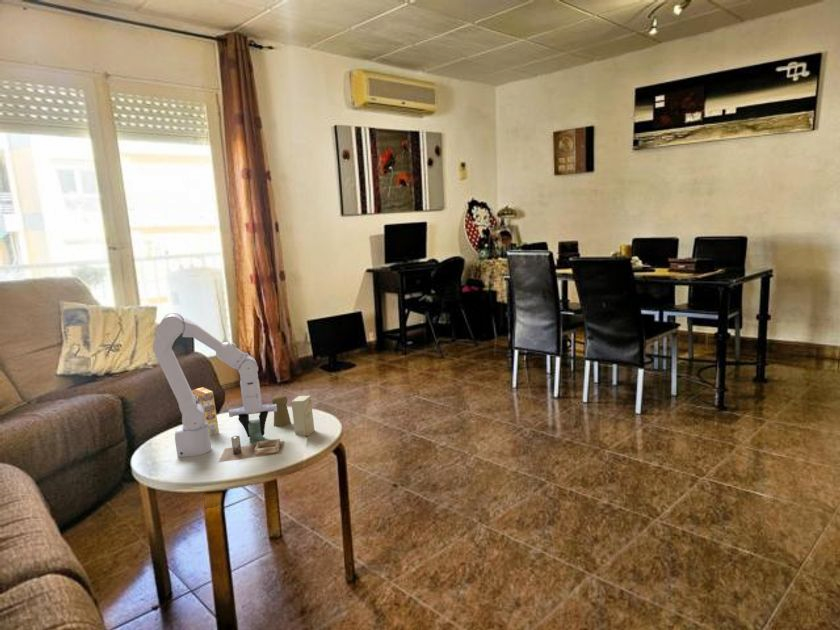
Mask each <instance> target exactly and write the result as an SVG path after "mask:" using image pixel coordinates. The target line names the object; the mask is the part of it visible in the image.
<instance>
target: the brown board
mask: <svg viewBox="0 0 840 630" xmlns="http://www.w3.org/2000/svg"><path fill="white" fill-rule="evenodd" d="M284 445H285V440H281V438H276V439H267V440H262V441H257V442H256V444H249V445H243V446H241V453H240V454H237V455H234V454H233V448H232V447H227V448H224V450H223V452H222V454H221V456H220V458H219V461H218V463H221V462H229V461H237V460H244V459H251V458H252V459H253V458H260V457H266V456H273V455H274V456H275V455H282V454H283V449H284Z"/></svg>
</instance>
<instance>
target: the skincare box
mask: <svg viewBox="0 0 840 630" xmlns="http://www.w3.org/2000/svg"><path fill="white" fill-rule="evenodd" d="M290 403H291V409H292V412H291V413H292V419H293V426H294V427H293V428H294V434H295V435H304V436H305V437H307V438H308V437H309V436H310V435H311V434H312V433H314V432H315V423H314V414H313V407H312V406H313V405H312V397H311V395H298V396H296V397H295V398H294V399H292V400H291V401H290Z"/></svg>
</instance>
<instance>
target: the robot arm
mask: <svg viewBox="0 0 840 630" xmlns="http://www.w3.org/2000/svg"><path fill="white" fill-rule="evenodd" d="M181 334H182V338H193V339H194V340H196V341H198V342H200V343H202V344H203V345H205V346H206V347H207V348H209V349H211V350H213V351H214V352H215V356H216V358H217V359H218V360H220V361H222V362H223V363H225V364H226V365H228V366H229V367H231V368H232V369H234V370H237V371H238V374H239V378H240V381H239V385H240V392H241V400H242V401H241V402H242V407H237V408H231V409H229V410H228V415H229V418H233V417H235V416H238V421H239V423H240V425H241V426H243V429H244V430H245V432H246V435H247V436H246V437H248V438H250V437H249V429H248V423H249V421H250V417H249V415H255V414H259V415H258V419H260V425H261V435H262V436H263V437H264V435H265V428H266V423H267V418H268V414H269V412H270V413H271V412H273V413H274V412H277V404H263V401H262V396H261V395H262V393H261V386H260V385H261V384H260V379H259V374H258V372H259V365H258V363H257V361H256V359H255V358H254V357H253V356H252V355H249V353H248V352H244V351H243V350H240V349H239V348H238V347H237V345H236V343H234V342H232V343H230V342H229V341H226V342H221V341H220V340H219V339H217V338H216V337H215V336H213V335H212V334H211V333H209V332H208V331H206V330H205V329H203V328H202V327H201V326H200V325H199V324H197V323H195V322H194V321H192V320H191V319H189V318H187V317H183V315H181V314H179V313H178V312H169V313H167V314H165V315H164V317H163V318H162V319H161V321H160V322H159V325H158V326H157V328H156V332H155V335H154V341H153V344H152V350H153V352H154V355H155V357H156V360H157V361H158V363H159V365H160V368H161V369H162V372H163V373H164V376H165V378H166V380H167V382H168V384H169V386H170V389H171V391H172V393H173V394H174V397H175V399H176V401H177V403H178V408H179V411H180V413H181V422H182V427H179V428H177V429H175V432H174V443H175V448H176V454H177V455H176V456H177V458H182V457H193V456H194V457H195V456H201V455H203V454H206V453H209V452H210V451H211V450H212V444H211V438H210V437H211V435H209V429H208V422H207V421H205V417H204V413H205V408H204V406H203V405H202V404H201V403H200V402H199V401H198V400H197V399H196V397H195V395H194V394H193V392H192V390H193V389H191V387H190V384H189V382H188V380H187V378H186V376H185V373H184V371H183V369H182V367H181V366H180V363H179V361H178V359H177V357H176V354H175V352H174V350H173V348H172V347H173V345H174V342H175V341H176V339H178V337H180V335H181Z"/></svg>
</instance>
